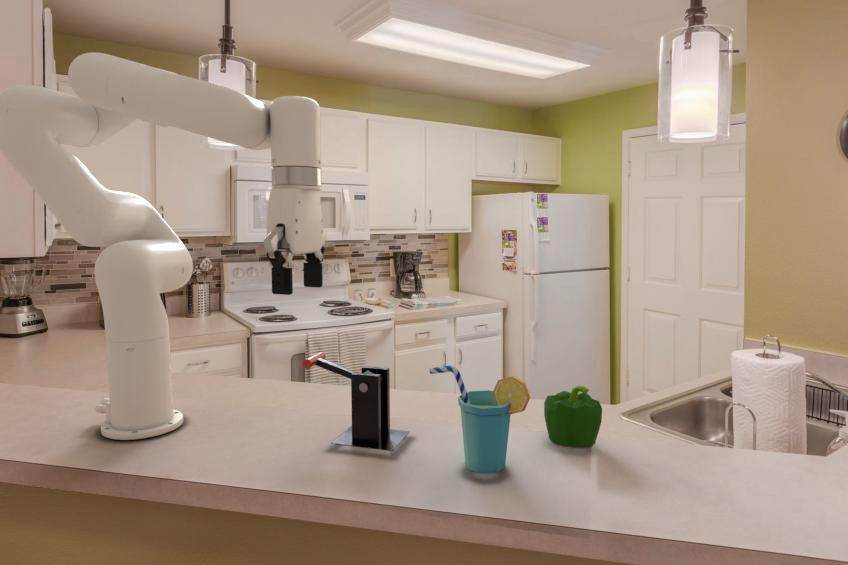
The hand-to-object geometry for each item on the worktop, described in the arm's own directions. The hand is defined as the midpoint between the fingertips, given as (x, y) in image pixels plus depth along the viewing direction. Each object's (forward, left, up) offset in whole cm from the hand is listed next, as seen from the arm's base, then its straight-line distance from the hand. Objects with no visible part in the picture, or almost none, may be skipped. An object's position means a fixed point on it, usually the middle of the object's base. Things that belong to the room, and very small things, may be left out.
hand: (298, 290), depth 90 cm
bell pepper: (+42, +8, -24) cm, 49 cm away
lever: (+7, 0, -14) cm, 16 cm away
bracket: (+12, 0, -24) cm, 27 cm away
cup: (+30, -5, -24) cm, 39 cm away
